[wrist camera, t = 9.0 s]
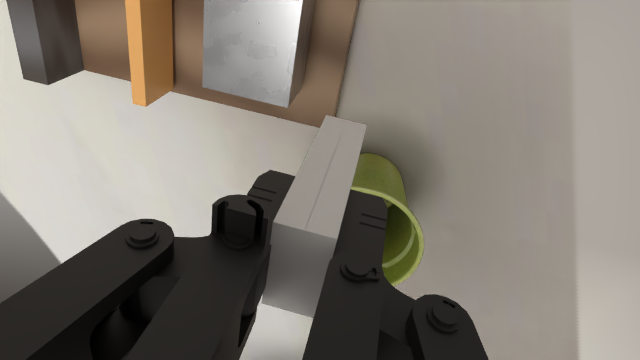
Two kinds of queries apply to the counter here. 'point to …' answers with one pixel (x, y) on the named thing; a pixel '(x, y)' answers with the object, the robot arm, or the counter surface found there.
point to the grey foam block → (256, 48)
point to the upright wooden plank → (150, 49)
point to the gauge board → (187, 35)
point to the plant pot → (392, 216)
